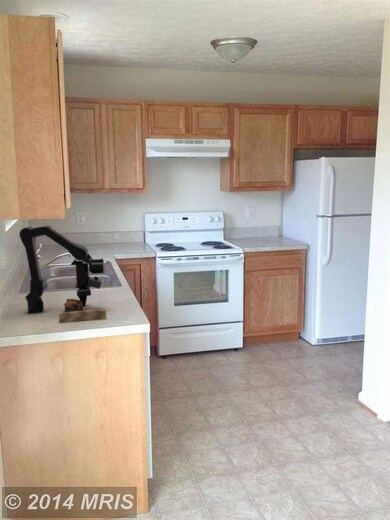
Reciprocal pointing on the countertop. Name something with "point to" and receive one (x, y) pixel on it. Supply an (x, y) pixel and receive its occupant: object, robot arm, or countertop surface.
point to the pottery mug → (73, 305)
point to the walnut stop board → (82, 315)
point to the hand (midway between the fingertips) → (84, 306)
